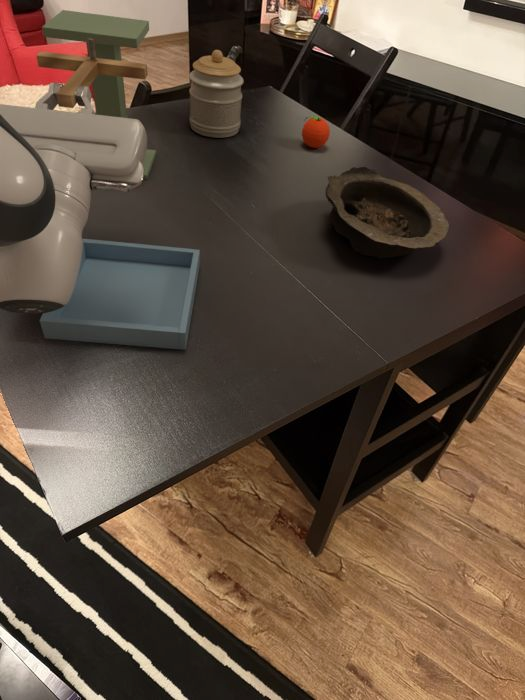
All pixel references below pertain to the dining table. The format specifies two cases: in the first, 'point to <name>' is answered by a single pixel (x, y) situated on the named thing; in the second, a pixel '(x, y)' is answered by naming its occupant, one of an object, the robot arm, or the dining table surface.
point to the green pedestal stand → (103, 56)
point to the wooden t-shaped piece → (86, 71)
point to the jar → (215, 96)
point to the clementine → (315, 132)
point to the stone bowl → (382, 214)
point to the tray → (129, 296)
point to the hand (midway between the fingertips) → (71, 88)
